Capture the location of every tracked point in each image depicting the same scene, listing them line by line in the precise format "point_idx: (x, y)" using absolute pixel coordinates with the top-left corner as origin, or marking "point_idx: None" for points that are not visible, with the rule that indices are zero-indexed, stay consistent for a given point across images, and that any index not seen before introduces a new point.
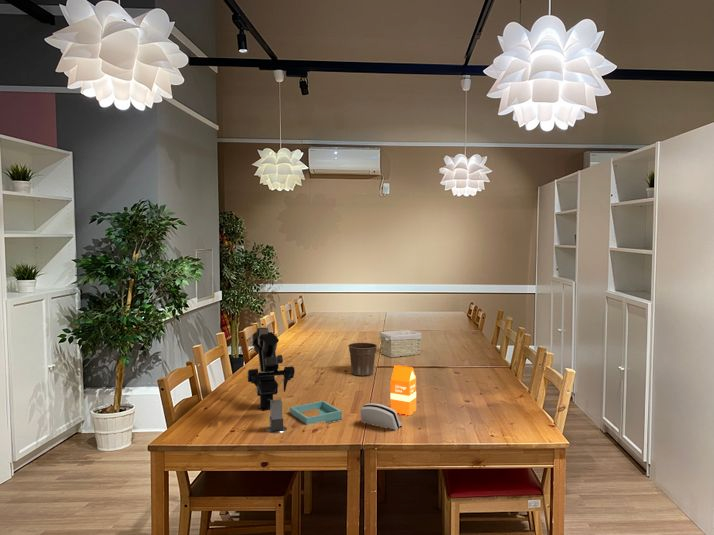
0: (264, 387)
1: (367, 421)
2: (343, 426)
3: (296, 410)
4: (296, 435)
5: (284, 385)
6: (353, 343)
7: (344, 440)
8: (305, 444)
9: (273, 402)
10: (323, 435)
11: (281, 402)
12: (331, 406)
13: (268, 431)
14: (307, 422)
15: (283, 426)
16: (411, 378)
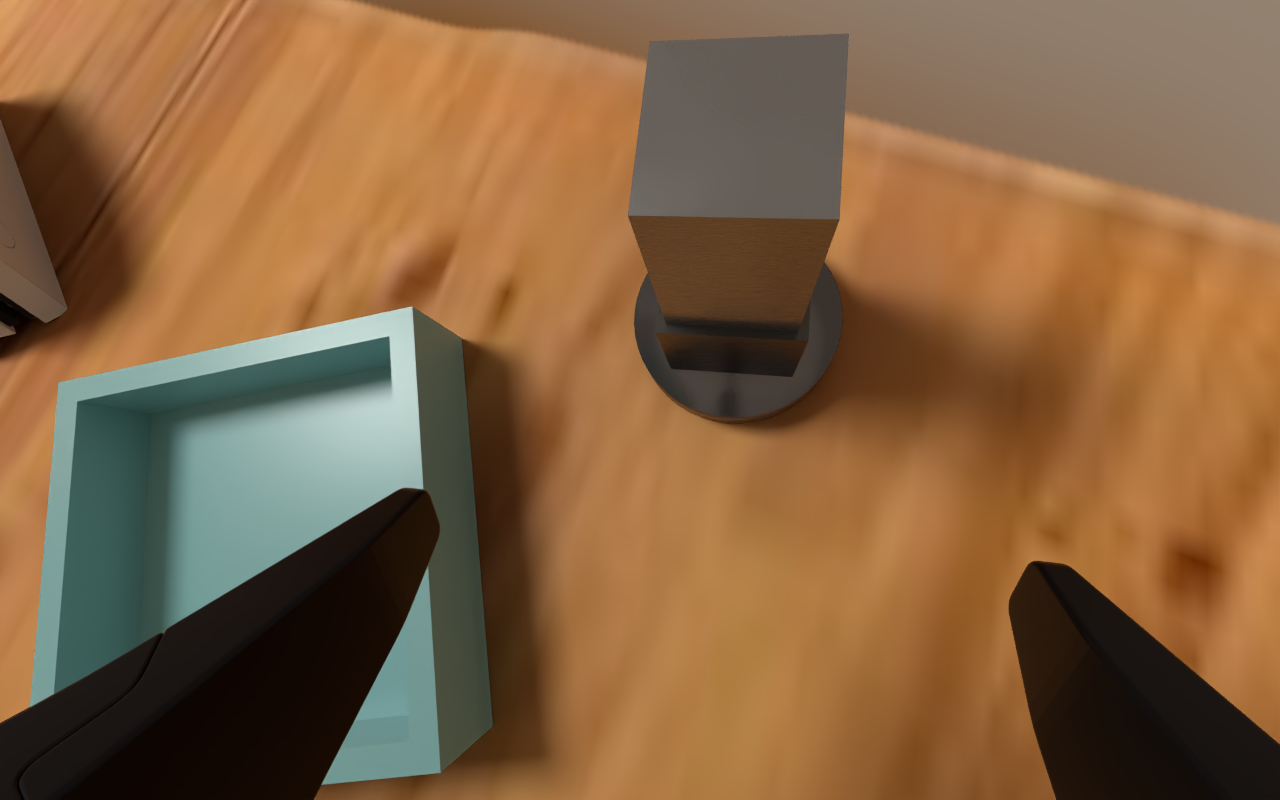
0: None
1: (31, 249)
2: (208, 278)
3: (414, 601)
4: (588, 224)
5: (319, 573)
6: None
7: (324, 44)
8: (581, 47)
9: (803, 67)
10: (406, 161)
11: (661, 46)
12: (60, 559)
13: (822, 288)
14: (428, 323)
15: (653, 363)
16: None
